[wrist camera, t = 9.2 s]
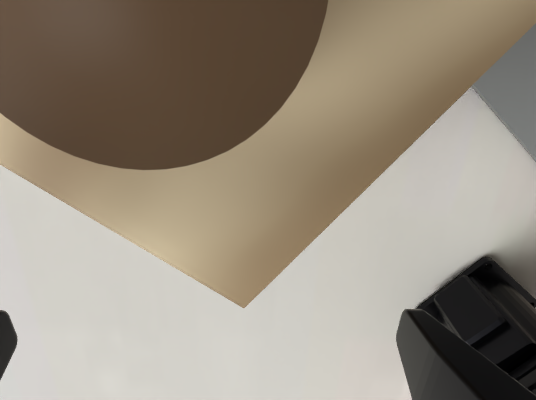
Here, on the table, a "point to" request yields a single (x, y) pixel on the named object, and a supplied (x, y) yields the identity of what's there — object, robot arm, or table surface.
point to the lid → (231, 113)
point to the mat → (514, 90)
